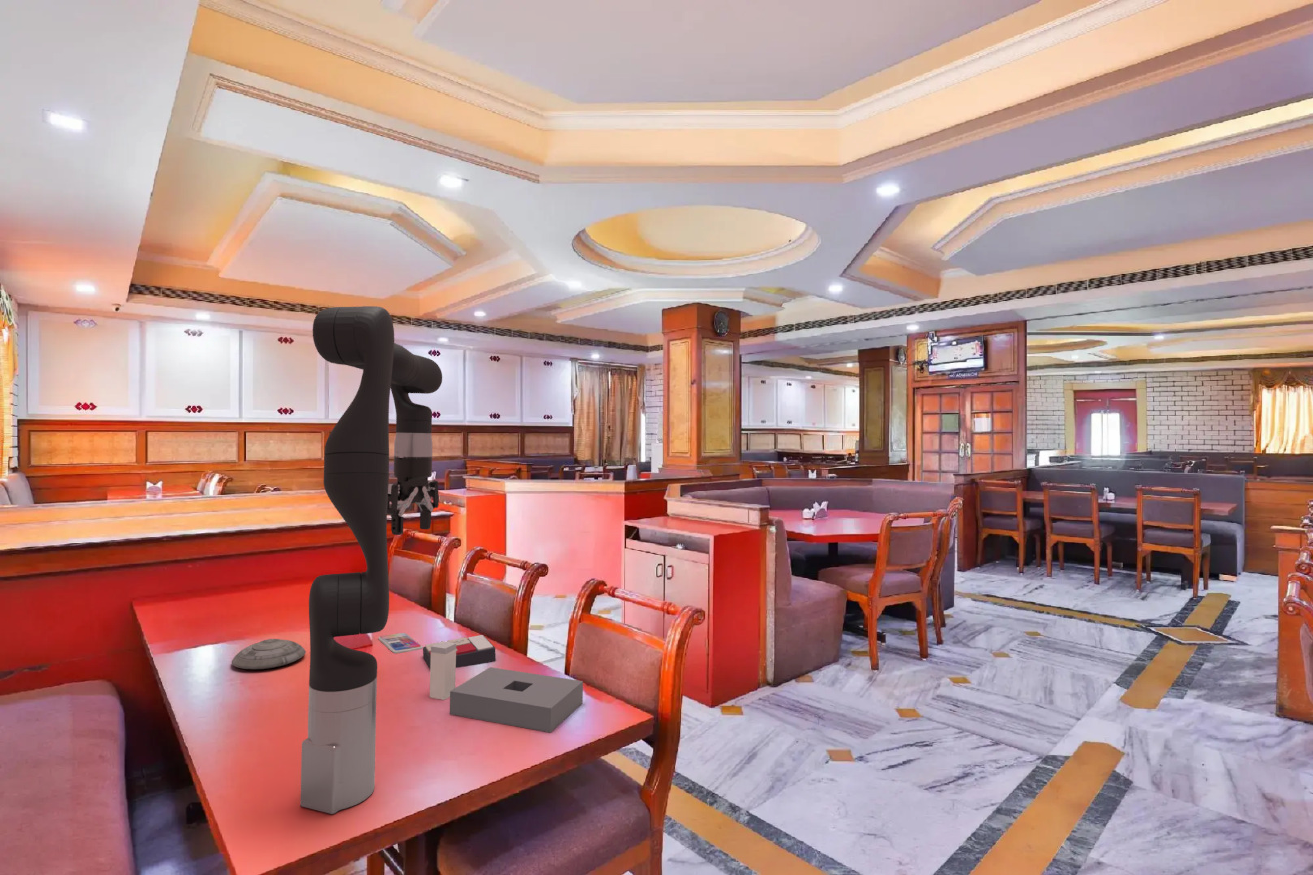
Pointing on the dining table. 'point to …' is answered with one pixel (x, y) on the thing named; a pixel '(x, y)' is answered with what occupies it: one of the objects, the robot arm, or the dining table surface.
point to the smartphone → (400, 643)
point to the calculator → (467, 651)
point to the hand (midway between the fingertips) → (411, 531)
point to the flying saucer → (268, 654)
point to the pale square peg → (442, 670)
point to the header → (517, 699)
